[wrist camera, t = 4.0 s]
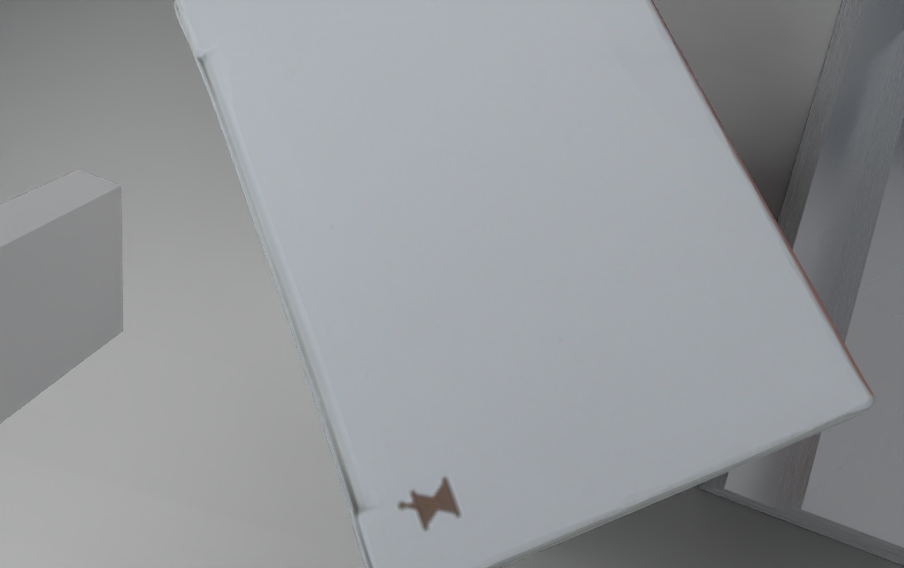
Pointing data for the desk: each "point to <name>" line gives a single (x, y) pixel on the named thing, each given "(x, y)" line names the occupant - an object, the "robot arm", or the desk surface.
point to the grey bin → (849, 290)
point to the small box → (513, 264)
